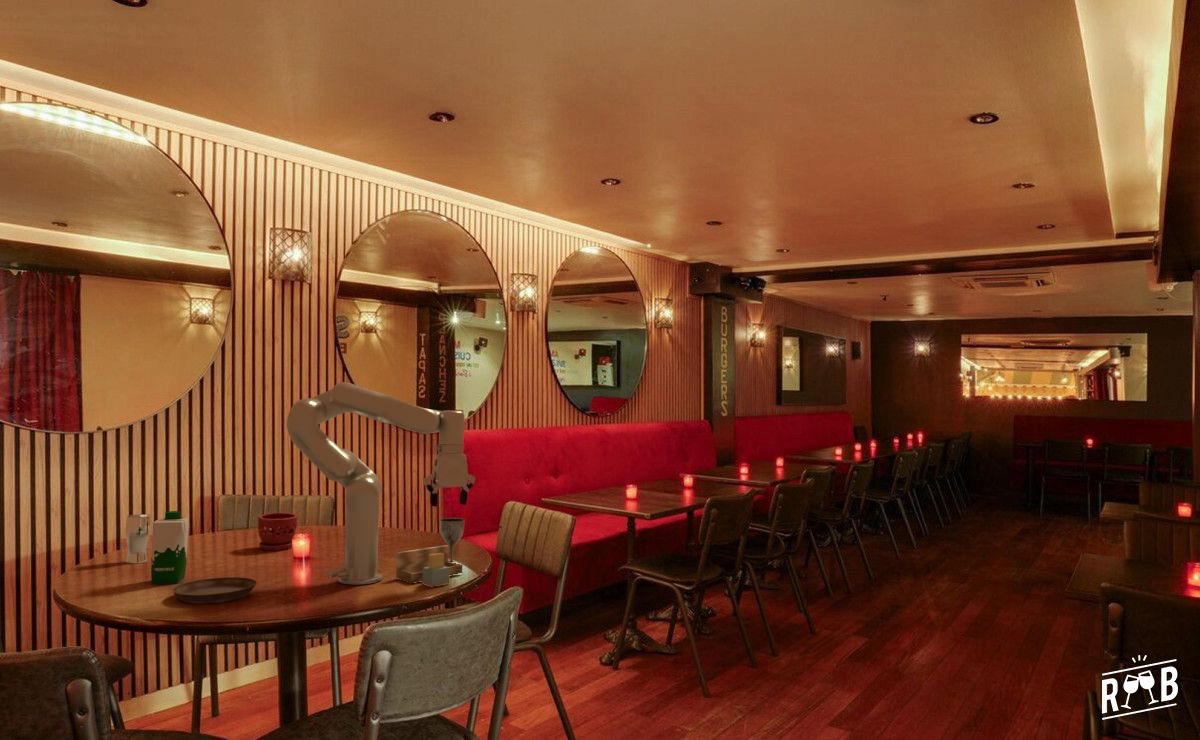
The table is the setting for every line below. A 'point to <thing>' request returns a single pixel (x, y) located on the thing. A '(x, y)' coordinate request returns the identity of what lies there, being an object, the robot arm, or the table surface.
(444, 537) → the wine glass
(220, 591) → the plant saucer
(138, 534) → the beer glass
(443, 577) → the grey square block
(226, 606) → the table surface
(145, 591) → the table surface
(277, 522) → the plant pot
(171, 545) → the milk carton
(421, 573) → the board
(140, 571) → the table surface
